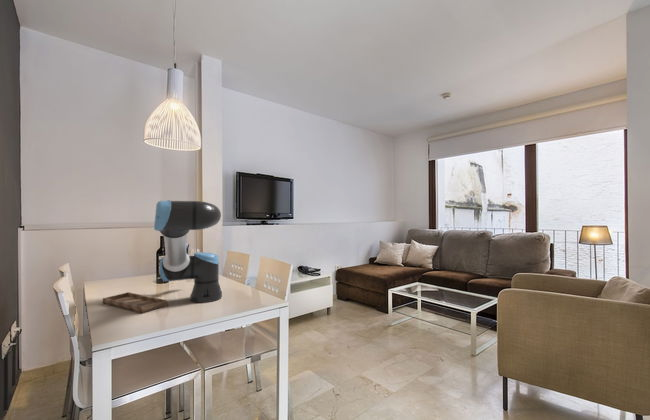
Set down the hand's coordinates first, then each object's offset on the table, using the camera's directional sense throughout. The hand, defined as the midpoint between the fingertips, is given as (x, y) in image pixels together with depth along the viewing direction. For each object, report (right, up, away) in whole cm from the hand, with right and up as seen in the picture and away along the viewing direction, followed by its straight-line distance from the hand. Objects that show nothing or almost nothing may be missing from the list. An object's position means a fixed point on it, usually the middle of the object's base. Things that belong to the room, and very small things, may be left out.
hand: (178, 274), depth 162 cm
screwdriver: (0, -1, 0) cm, 1 cm away
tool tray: (-11, -10, -20) cm, 25 cm away
